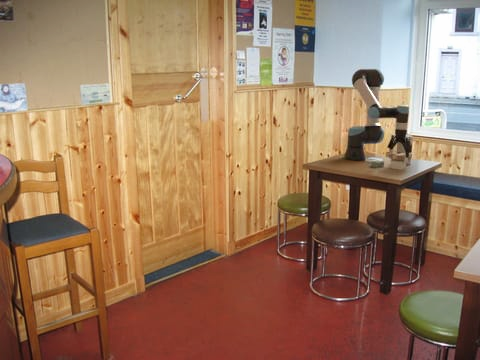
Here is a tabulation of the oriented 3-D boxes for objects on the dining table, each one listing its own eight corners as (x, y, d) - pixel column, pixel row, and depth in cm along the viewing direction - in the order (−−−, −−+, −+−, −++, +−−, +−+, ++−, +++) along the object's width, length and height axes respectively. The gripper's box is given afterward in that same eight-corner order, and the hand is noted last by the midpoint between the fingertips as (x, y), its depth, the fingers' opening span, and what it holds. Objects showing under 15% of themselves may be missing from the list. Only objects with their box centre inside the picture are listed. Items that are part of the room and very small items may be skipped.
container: (411, 165, 356) (413, 136, 351) (396, 164, 358) (398, 136, 353) (409, 162, 366) (412, 134, 361) (395, 161, 368) (397, 134, 363)
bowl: (387, 167, 349) (388, 159, 347) (397, 166, 353) (398, 158, 352) (398, 170, 341) (398, 162, 339) (408, 168, 345) (408, 160, 344)
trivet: (370, 166, 352) (371, 161, 351) (377, 165, 355) (377, 160, 354) (377, 167, 347) (377, 162, 346) (383, 166, 350) (384, 162, 349)
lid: (385, 156, 347) (386, 150, 346) (398, 155, 353) (398, 149, 352) (399, 159, 337) (399, 154, 336) (411, 158, 343) (412, 152, 342)
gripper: (383, 126, 349) (381, 157, 354) (411, 131, 328) (408, 164, 334) (391, 126, 352) (388, 156, 358) (419, 130, 332) (416, 163, 338)
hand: (398, 160), depth 346 cm, fingers closed on lid, 12 cm apart
